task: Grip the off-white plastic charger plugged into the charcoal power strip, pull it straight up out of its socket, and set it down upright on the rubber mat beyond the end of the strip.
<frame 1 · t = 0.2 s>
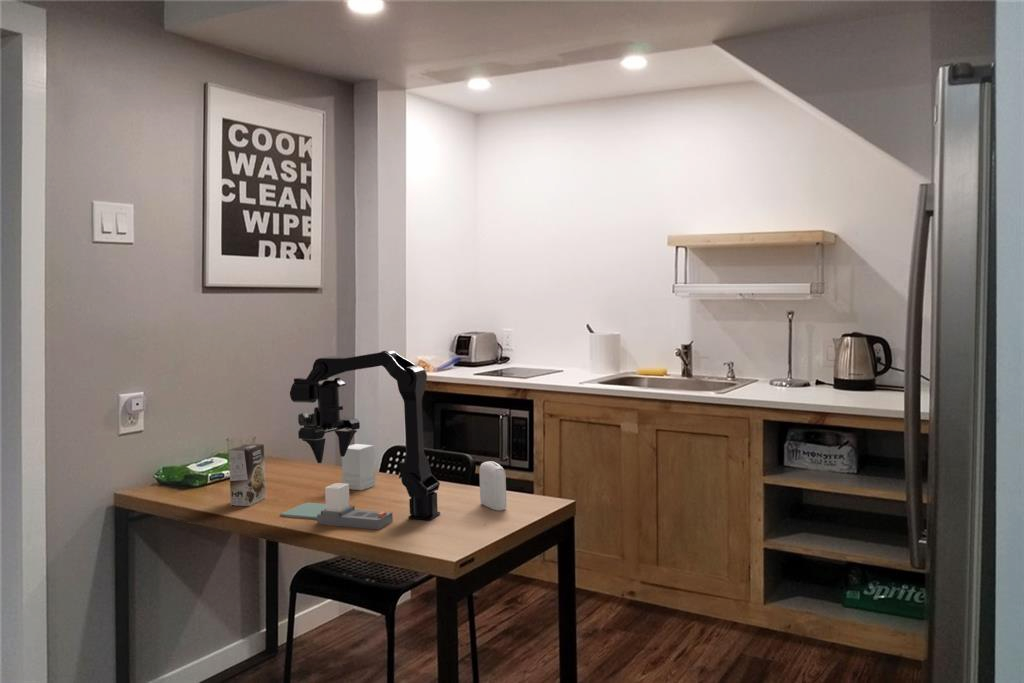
hand: (331, 459, 220), 14 cm above the table, fingers open, 9 cm apart
coffee box: (249, 502, 231), on the table
rubber mat: (312, 511, 219), on the table
charger: (338, 512, 210), point 2 cm above the table, touching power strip
supplement box: (359, 487, 246), on the table
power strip: (355, 522, 208), on the table
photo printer: (493, 507, 221), on the table
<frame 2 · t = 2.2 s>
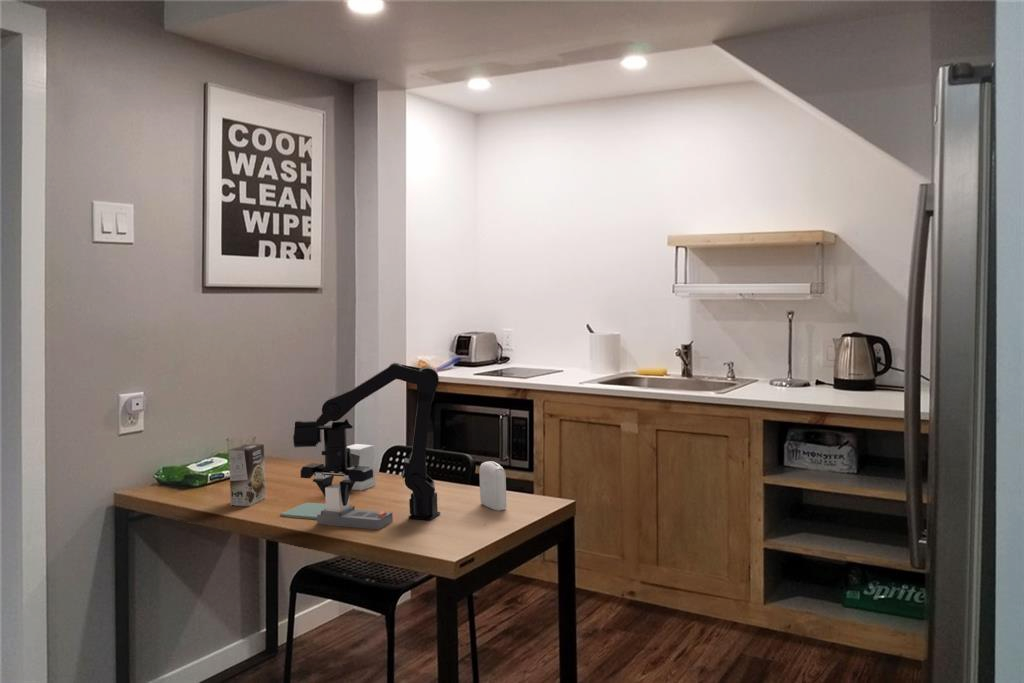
hand: (337, 504, 209), 4 cm above the table, fingers closed on charger, 4 cm apart
charger: (338, 512, 210), point 2 cm above the table, touching gripper, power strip
everything else where it was.
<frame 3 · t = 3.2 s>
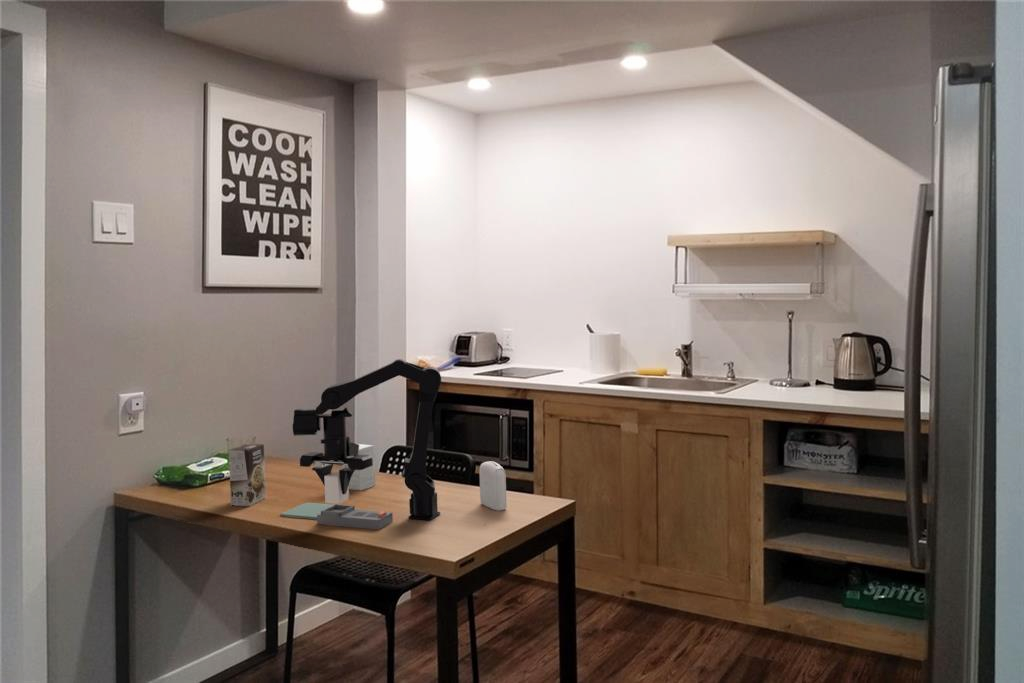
hand: (337, 493, 209), 7 cm above the table, fingers closed on charger, 4 cm apart
charger: (337, 500, 209), point 5 cm above the table, touching gripper
everything else where it was.
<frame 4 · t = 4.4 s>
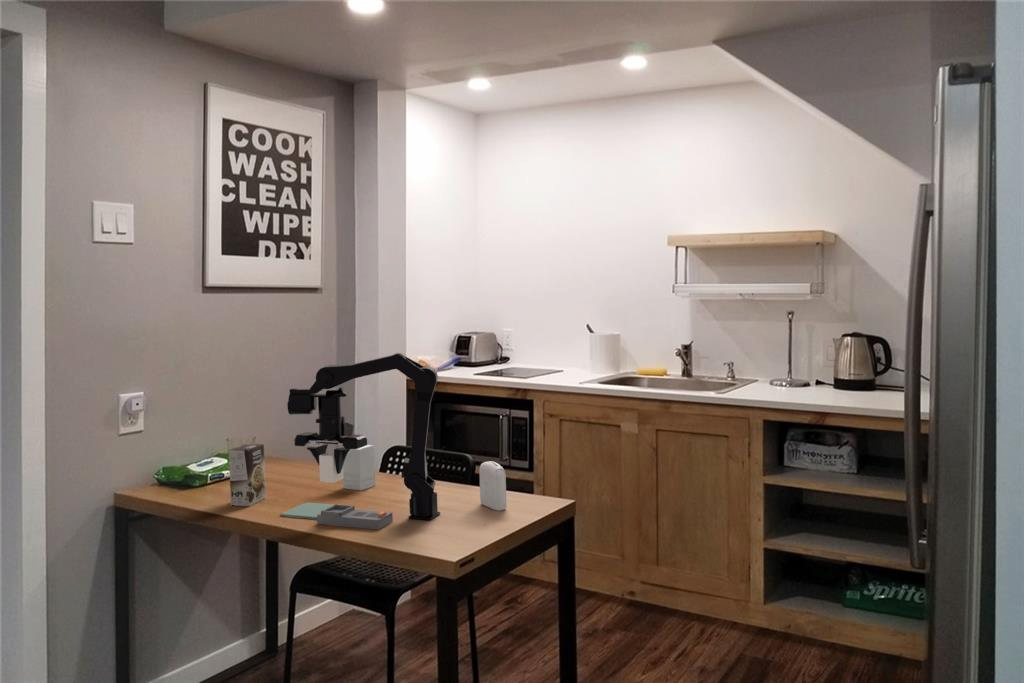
hand: (331, 473, 210), 12 cm above the table, fingers closed on charger, 4 cm apart
charger: (331, 480, 211), point 11 cm above the table, touching gripper
everything else where it was.
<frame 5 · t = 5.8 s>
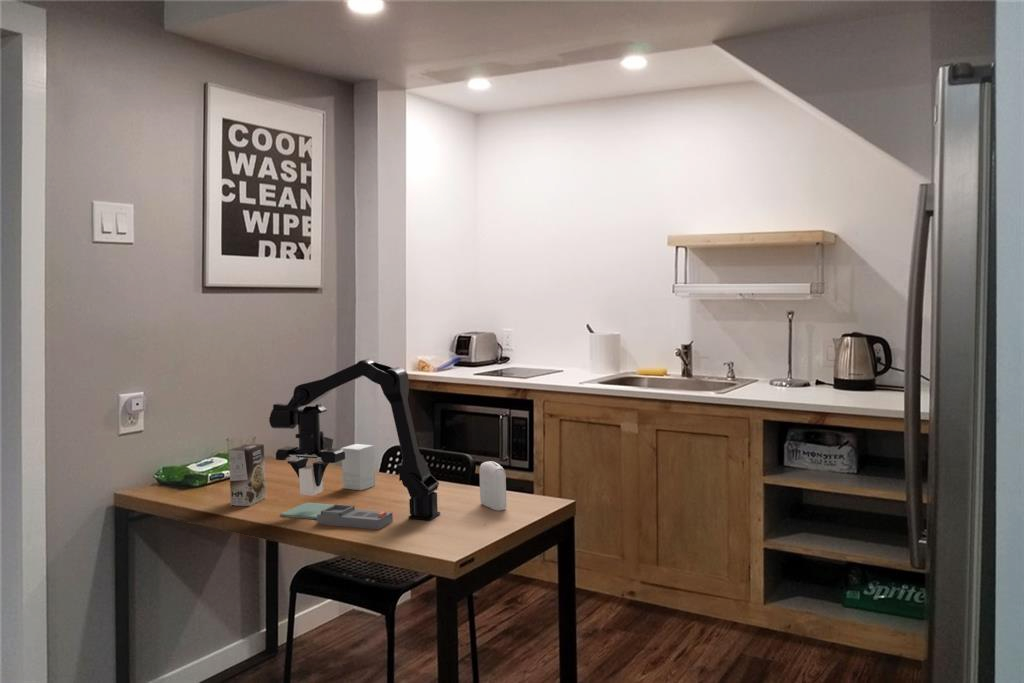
hand: (311, 485, 219), 7 cm above the table, fingers closed on charger, 4 cm apart
charger: (311, 492, 219), point 5 cm above the table, touching gripper
everything else where it was.
when the fingers open (4 cm above the table, at t = 7.1 s): charger drops 1 cm, resting on rubber mat.
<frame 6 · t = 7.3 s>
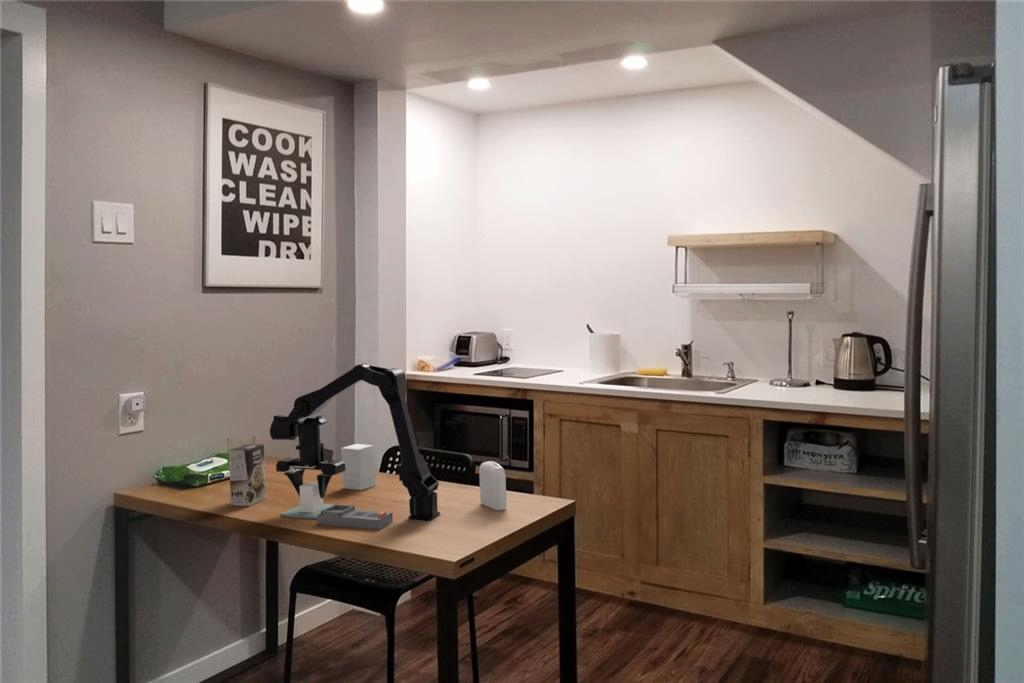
hand: (311, 497, 219), 4 cm above the table, fingers open, 6 cm apart
charger: (312, 509, 219), point 1 cm above the table, touching rubber mat
everything else where it was.
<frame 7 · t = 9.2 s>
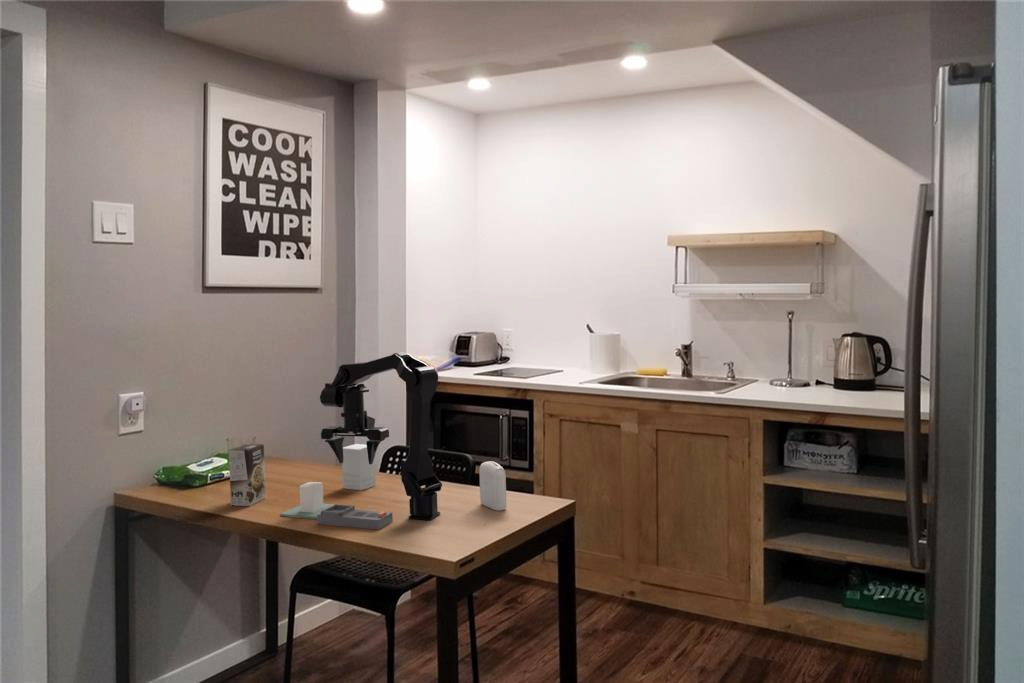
hand: (356, 463, 225), 12 cm above the table, fingers open, 9 cm apart
nothing on the table moved.
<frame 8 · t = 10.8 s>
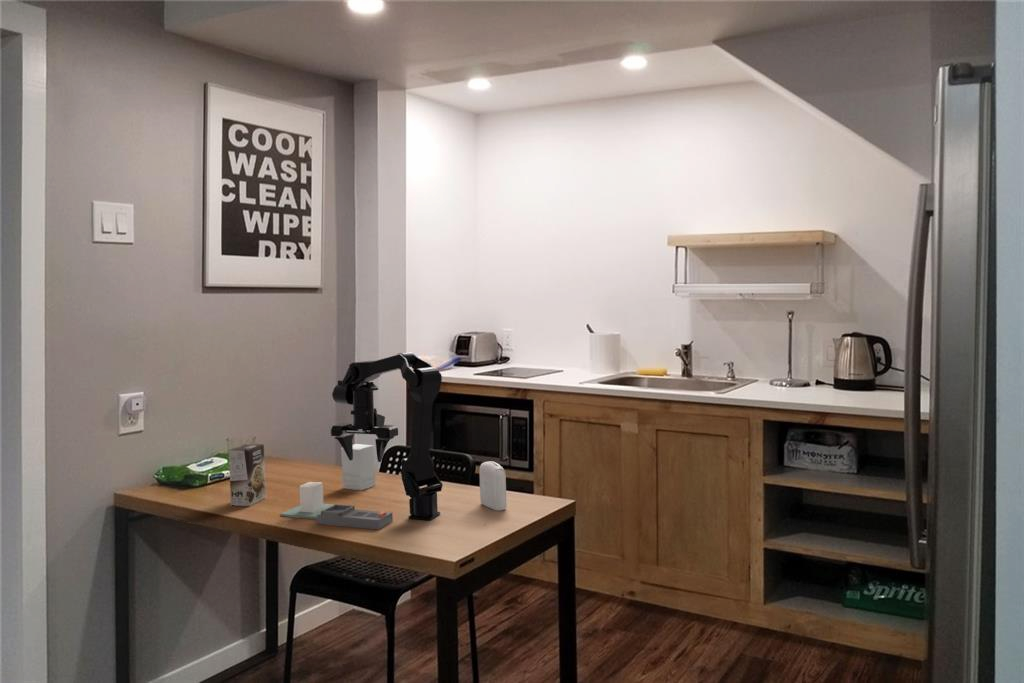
hand: (365, 461, 227), 12 cm above the table, fingers open, 9 cm apart
nothing on the table moved.
at the end: charger inside the target area on the rubber mat (0.1 cm from its centre), point 0.6 cm above the rubber mat's base; charger tilted 0°; the gripper is holding nothing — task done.
